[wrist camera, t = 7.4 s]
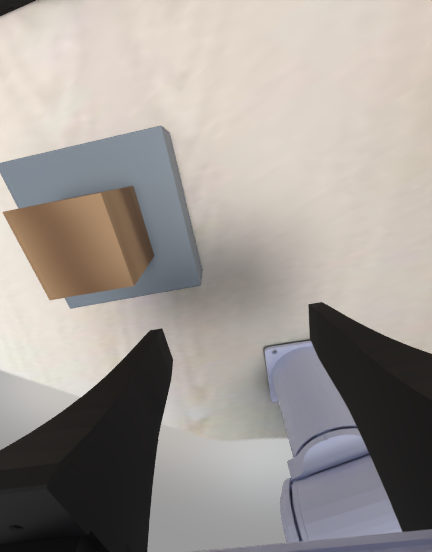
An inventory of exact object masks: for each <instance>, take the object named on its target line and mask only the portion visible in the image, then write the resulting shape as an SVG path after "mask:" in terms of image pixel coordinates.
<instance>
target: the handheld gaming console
mask: <svg viewBox="0 0 432 552" xmlns="http://www.w3.org/2000/svg"><path fill="white" fill-rule="evenodd" d="M34 1H36V0H0V16H2V15H4V14H6V13H8V12H11V11H13V10H15V9H18V8H20V7H22V6H24V5H27V4H29V3H31V2H34Z"/></svg>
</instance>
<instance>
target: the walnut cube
mask: <svg viewBox="0 0 432 552" xmlns="http://www.w3.org/2000/svg"><path fill="white" fill-rule="evenodd" d="M3 214H4V216H5V218H6V220H7V222H8V223H9V225H10V227H11V229H12V231H13V233H14V235H15V236H16V238H17V240H18V242H19V244H20V246H21V248H22V250H23V251H24V253H25V255H26V257H27V259H28V261H29V263H30V264H31V266H32V268H33V270H34V272H35V274H36V276H37V277H38V279H39V281H40V283H41V285H42V287H43V289H44V290H45V292H46V294H47V296H48V298H49V300H54V299H60V298H66V297H72V296H78V295H84V294H90V293H96V292H102V291H108V290H114V289H120V288H126V287H132V286H134V285H135V284H136V283H137V281H138V280H139V278H140V277H141V275H142V274H143V272H144V271H145V269H146V268H147V266H148V265H149V263H150V262H151V260H152V259H153V257H154V253H153V250H152V246H151V243H150V240H149V236H148V233H147V230H146V226H145V223H144V220H143V216H142V213H141V210H140V206H139V203H138V200H137V196H136V193H135V190H134V187H133V186H129V187H124V188H119V189H114V190H109V191H103V192H98V193H93V194H88V195H83V196H78V197H73V198H68V199H63V200H58V201H53V202H48V203H43V204H39V205H34V206H29V207H24V208H20V209H15V210H10V211H5V212H3Z"/></svg>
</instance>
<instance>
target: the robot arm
mask: <svg viewBox="0 0 432 552" xmlns="http://www.w3.org/2000/svg"><path fill="white" fill-rule="evenodd" d="M309 327H310V341H304V342H297V343H291V344H284V345H277V346H271V347H267V348H265V350H264V353H265V360H266V368H267V375H268V382H269V389H270V396H271V401H272V402H279V406H280V409H281V413H282V417H283V420H284V424H285V428H286V431H287V435H288V439H289V442H290V446H291V450H292V453H293V457H294V458H293V459H291V460H289V461H288V462H287V463H288V466H289V470H290V475H291V478H289V479H287V480H285V481H284V483H283V486H282V494H281V499H280V511H281V519H282V525H283V530H284V534H285V539H286V543H279V544H268V545H257V546H247V547H236V548H225V549H215V550H205V551H193V552H432V354H430V353H427V352H424V351H422V350H419V349H416V348H413V347H411V346H408V345H406V344H403V343H401V342H398V341H396V340H393V339H391V338H389V337H386V336H384V335H382V334H380V333H378V332H376V331H374V330H372V329H370V328H368V327H366V326H364V325H362V324H360V323H358V322H356V321H354V320H352V319H351V318H349V317H347V316H345V315H343V314H342V313H340V312H338V311H336V310H335V309H333V308H331V307H330V306H328V305H326V304H324V303H322V302H320V303H314V304H309ZM273 350H276V351H273ZM172 366H173V358H172V355H171V353H170V350H169V347H168V344H167V341H166V338H165V335H164V332H163V330H162V329H156V330H150V331H149V332H148V333H147V334H146V335H145V336H144V337H143V339H142V340H141V341H140V342H139V343H138V344H137V345H136V346H135V347H134V348H133V349H132V350H131V351H130V353H129V354H128V355H127V356H126V357H125V358H124V359H123V360H122V361H121V362H120V363H119V364H118V365H117V366H116V367H115V368H114V369H113V370H112V371H111V372H110V373H109V374H108V375H107V376H106V377H105V378H103V379H102V380H101V381H100V382H99V383H98V384H97V385H95V386H94V387H93V388H92V389H91V390H90V391H88V392H87V393H86V394H85V395H83V396H82V397H81V398H79V399H78V400H77V401H76V402H74V403H73V404H72V405H70V406H69V407H68V408H66V409H65V410H64V411H62V412H61V413H59V414H58V415H57V416H55V417H54V418H52V419H51V420H49V421H48V422H46V423H45V424H43V425H42V426H40V427H38V428H37V429H35V430H34V431H32V432H31V433H29V434H28V435H26V436H24V437H22V438H21V439H19V440H17V441H16V442H14V443H12V444H10V445H9V446H7V447H5V448H4V449H2V450H0V552H147V546H148V531H149V518H150V506H151V496H152V485H153V476H154V468H155V459H156V451H157V444H158V436H159V431H160V426H161V421H162V417H163V413H164V408H165V404H166V400H167V396H168V391H169V387H170V382H171V376H172Z"/></svg>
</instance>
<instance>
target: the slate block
mask: <svg viewBox="0 0 432 552" xmlns="http://www.w3.org/2000/svg"><path fill="white" fill-rule="evenodd" d="M0 173H1V175H2V177H3V179H4V181H5V183H6V185H7V187H8V189H9V191H10V193H11V195H12V197H13V199H14V201H15V203H16V205H17V206H18V208H19V209H20V208H24V207H29V206H34V205H39V204H43V203H48V202H53V201H58V200H63V199H68V198H73V197H78V196H83V195H88V194H93V193H98V192H103V191H109V190H114V189H119V188H124V187H129V186H133V187H134V190H135V193H136V196H137V200H138V203H139V206H140V210H141V213H142V216H143V220H144V223H145V226H146V230H147V233H148V236H149V240H150V243H151V246H152V250H153V253H154V257H153V259H152V260H151V262H150V263H149V265H148V266H147V268H146V269H145V271H144V272H143V274H142V275H141V277H140V278H139V280H138V281H137V283H136V284H135V285H134V286H132V287H126V288H120V289H114V290H108V291H102V292H96V293H90V294H84V295H78V296H72V297H66V298H65V300H66V301H67V303H68V305H69V307H70V309H71V308H77V307H82V306H88V305H94V304H99V303H105V302H110V301H116V300H122V299H127V298H133V297H138V296H144V295H150V294H155V293H161V292H167V291H172V290H178V289H183V288H189V287H195V286H200V285H201V278H202V267H201V263H200V258H199V254H198V250H197V246H196V242H195V237H194V233H193V229H192V225H191V220H190V216H189V212H188V208H187V204H186V199H185V195H184V191H183V187H182V182H181V178H180V174H179V170H178V166H177V161H176V157H175V153H174V149H173V144H172V140H171V136H170V133H169V132H168V131H167V130H166V129H165V128H163V127H162V126H157V127H153V128H149V129H144V130H140V131H136V132H131V133H127V134H123V135H118V136H114V137H110V138H106V139H101V140H97V141H93V142H88V143H84V144H80V145H75V146H71V147H67V148H63V149H58V150H54V151H50V152H45V153H41V154H37V155H32V156H28V157H24V158H19V159H15V160H11V161H7V162H2V163H0Z"/></svg>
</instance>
